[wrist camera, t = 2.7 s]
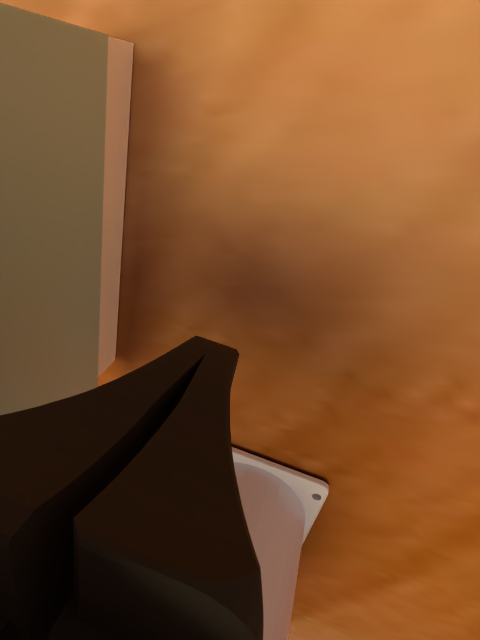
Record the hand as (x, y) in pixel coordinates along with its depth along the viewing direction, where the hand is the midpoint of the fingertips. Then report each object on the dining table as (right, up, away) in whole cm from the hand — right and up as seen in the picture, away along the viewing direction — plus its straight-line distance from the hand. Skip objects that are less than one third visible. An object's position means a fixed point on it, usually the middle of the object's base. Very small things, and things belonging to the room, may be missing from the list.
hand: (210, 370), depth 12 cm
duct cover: (-6, +2, +2) cm, 6 cm away
